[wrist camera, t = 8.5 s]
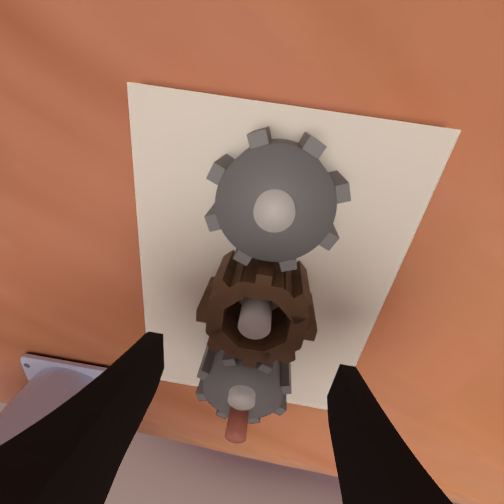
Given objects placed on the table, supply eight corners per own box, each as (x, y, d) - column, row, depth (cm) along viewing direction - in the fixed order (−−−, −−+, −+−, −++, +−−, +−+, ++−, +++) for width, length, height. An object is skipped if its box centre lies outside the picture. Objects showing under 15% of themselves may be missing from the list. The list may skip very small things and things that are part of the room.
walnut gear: (299, 334, 17) (302, 376, 14) (208, 319, 17) (194, 357, 14) (322, 253, 14) (331, 286, 11) (213, 236, 14) (198, 264, 12)
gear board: (331, 392, 21) (346, 477, 16) (157, 361, 22) (120, 435, 17) (442, 128, 12) (549, 138, 7) (143, 84, 13) (54, 67, 8)
